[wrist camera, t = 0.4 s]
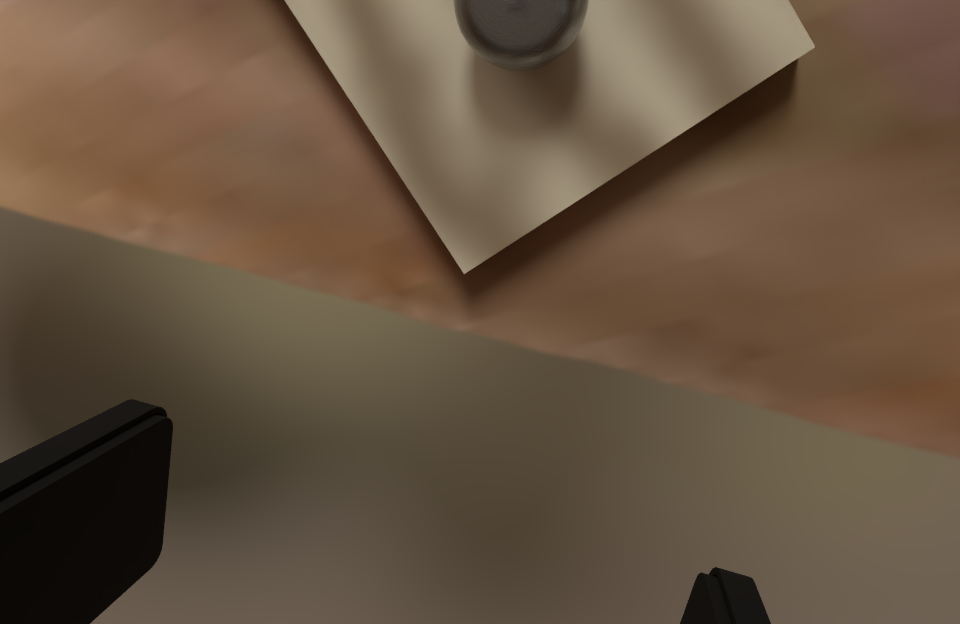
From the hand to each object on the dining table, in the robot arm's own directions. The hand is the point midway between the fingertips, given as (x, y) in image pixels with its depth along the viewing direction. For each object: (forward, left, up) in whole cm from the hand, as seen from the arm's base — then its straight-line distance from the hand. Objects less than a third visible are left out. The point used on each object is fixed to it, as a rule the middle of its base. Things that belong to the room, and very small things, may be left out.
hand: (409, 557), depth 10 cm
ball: (-7, -12, -21) cm, 25 cm away
